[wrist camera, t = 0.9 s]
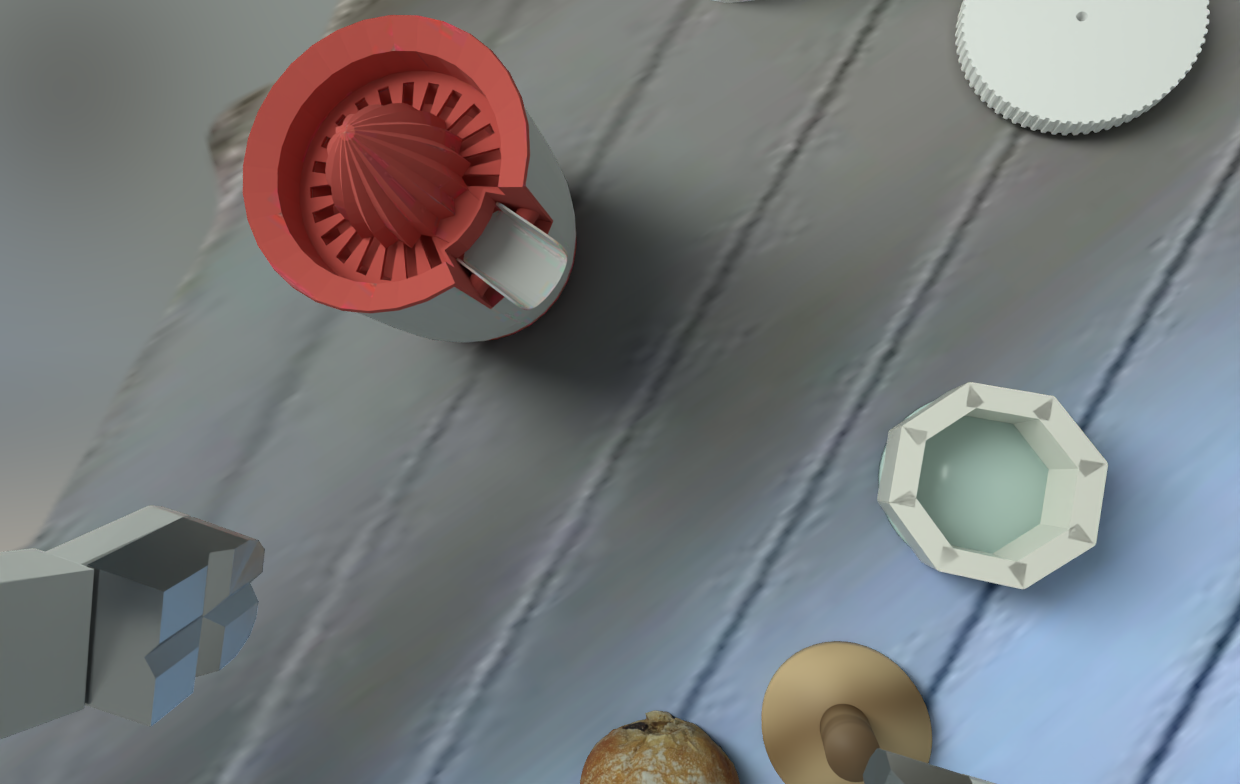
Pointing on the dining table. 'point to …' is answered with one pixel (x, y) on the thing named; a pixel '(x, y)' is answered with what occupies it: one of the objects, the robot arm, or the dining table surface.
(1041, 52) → the plastic lid
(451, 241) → the citrus juicer
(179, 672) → the robot arm
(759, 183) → the dining table surface
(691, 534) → the dining table surface
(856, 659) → the wooden lid
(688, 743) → the bread roll
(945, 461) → the octagonal jar
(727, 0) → the honey pot
